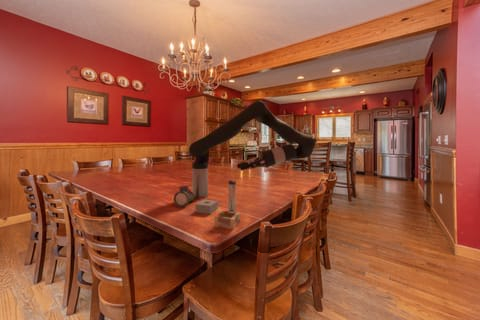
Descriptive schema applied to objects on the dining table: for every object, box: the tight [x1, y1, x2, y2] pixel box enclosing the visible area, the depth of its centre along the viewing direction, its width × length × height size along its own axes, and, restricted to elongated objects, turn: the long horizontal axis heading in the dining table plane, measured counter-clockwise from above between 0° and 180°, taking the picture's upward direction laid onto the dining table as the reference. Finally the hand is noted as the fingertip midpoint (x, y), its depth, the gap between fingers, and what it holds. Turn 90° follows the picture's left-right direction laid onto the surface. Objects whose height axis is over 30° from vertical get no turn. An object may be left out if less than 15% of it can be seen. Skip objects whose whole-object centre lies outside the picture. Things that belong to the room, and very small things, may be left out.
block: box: [194, 199, 219, 215], centre depth 104 cm, size 8×8×4 cm
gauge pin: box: [227, 180, 237, 212], centre depth 97 cm, size 3×3×16 cm
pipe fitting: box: [173, 185, 195, 208], centre depth 115 cm, size 12×8×10 cm
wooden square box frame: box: [214, 210, 241, 230], centre depth 87 cm, size 8×8×4 cm
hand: (238, 167), depth 93 cm, fingers open, 8 cm apart
